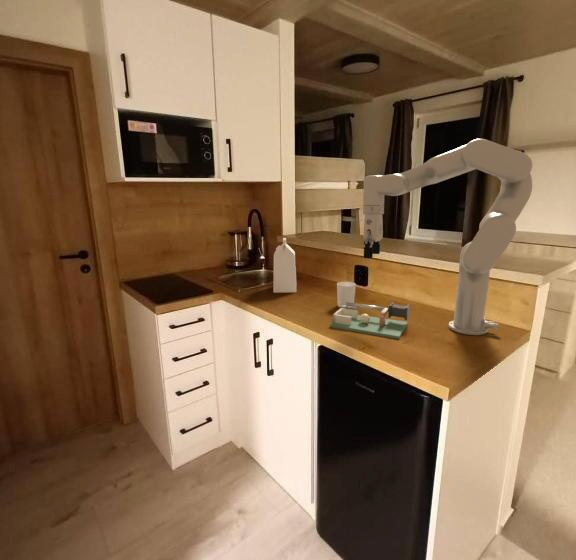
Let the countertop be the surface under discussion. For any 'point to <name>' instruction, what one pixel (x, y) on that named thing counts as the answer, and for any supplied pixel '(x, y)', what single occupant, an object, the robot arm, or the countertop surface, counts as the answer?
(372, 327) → the board
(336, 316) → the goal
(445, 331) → the countertop surface
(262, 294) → the countertop surface
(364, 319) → the ball
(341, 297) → the white cup
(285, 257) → the milk
